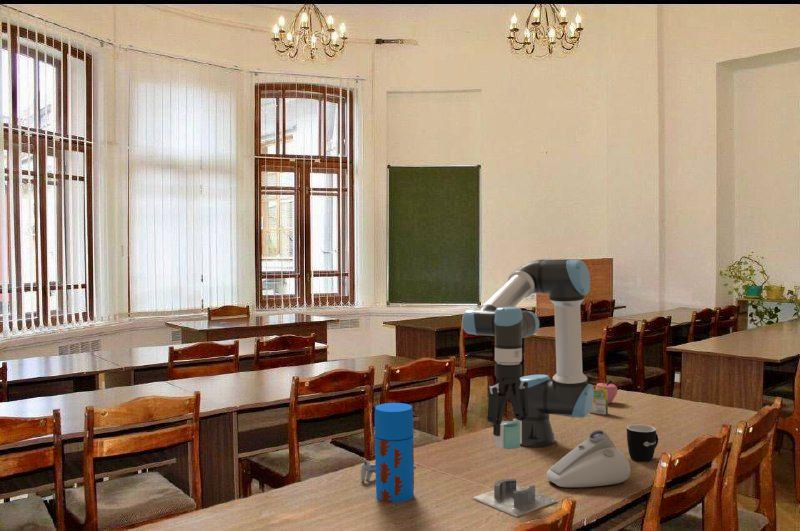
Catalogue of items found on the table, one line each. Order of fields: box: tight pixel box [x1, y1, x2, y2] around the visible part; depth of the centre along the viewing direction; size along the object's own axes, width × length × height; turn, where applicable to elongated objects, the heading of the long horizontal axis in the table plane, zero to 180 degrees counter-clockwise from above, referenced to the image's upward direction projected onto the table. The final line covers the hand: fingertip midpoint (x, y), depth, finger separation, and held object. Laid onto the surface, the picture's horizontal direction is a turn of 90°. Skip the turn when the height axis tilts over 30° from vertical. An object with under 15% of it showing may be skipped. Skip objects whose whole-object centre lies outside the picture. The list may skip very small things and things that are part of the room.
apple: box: [595, 380, 618, 405], centre depth 295 cm, size 10×9×10 cm
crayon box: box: [589, 384, 609, 415], centre depth 279 cm, size 7×3×12 cm, turn 58°
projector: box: [546, 429, 631, 488], centre depth 201 cm, size 22×23×15 cm
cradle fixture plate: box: [472, 478, 558, 518], centre depth 186 cm, size 16×16×4 cm
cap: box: [501, 420, 521, 450], centre depth 190 cm, size 6×6×6 cm
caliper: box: [360, 460, 417, 483], centre depth 209 cm, size 20×1×6 cm, turn 128°
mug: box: [626, 423, 659, 463], centre depth 220 cm, size 12×9×10 cm
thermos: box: [374, 402, 415, 503], centre depth 191 cm, size 11×11×25 cm
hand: (508, 444), depth 190 cm, fingers closed on cap, 6 cm apart
